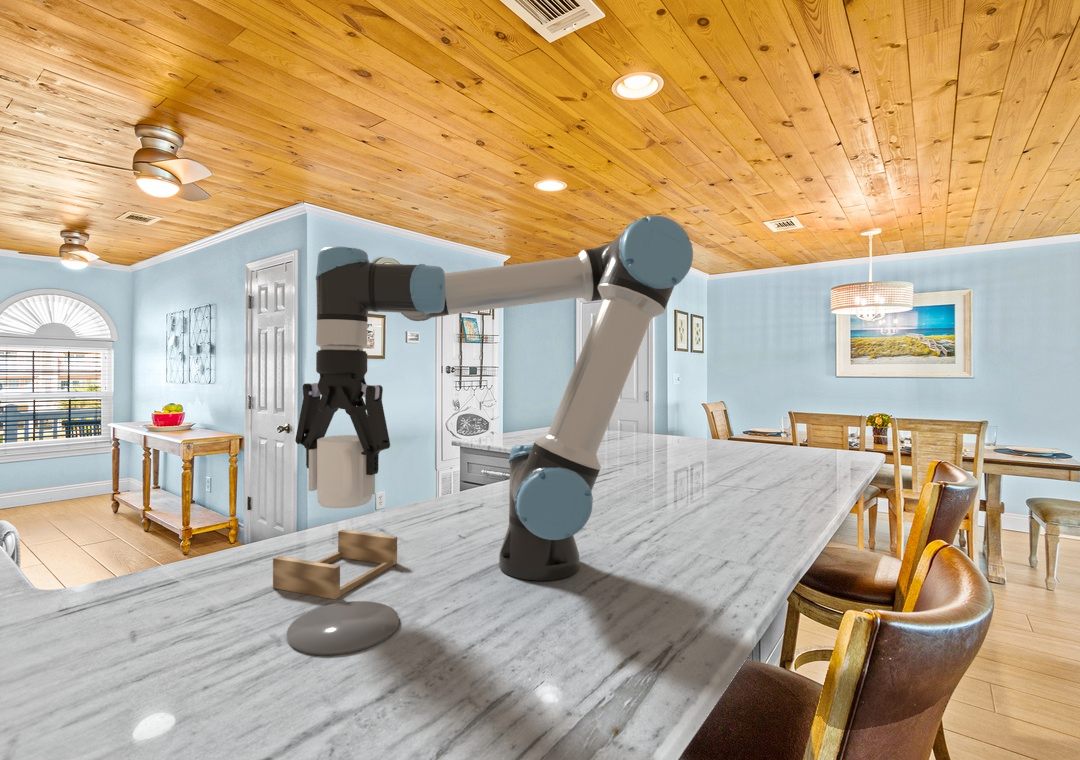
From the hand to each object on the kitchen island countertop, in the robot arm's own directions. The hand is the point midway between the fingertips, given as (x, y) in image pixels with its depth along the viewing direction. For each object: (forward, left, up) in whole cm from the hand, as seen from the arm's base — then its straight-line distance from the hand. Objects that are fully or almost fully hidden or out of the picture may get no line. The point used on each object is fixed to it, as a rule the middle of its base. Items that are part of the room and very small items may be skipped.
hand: (341, 492), depth 86 cm
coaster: (-6, +7, -18) cm, 20 cm away
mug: (-1, 0, -2) cm, 2 cm away
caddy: (+8, -9, -18) cm, 21 cm away
